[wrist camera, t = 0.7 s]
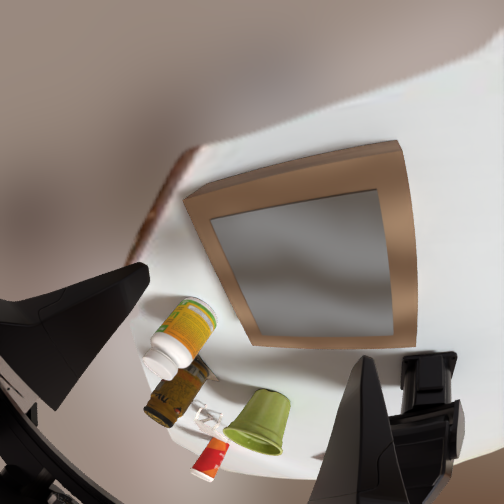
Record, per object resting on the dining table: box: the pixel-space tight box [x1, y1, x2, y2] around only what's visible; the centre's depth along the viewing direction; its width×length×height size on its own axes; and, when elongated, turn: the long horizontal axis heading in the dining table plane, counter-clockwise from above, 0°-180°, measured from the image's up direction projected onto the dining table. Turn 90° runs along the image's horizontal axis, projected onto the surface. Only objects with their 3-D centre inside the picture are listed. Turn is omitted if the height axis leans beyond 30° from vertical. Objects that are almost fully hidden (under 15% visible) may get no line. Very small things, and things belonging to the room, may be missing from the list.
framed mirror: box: [183, 140, 418, 349], centre depth 22 cm, size 16×16×4 cm
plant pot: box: [223, 389, 291, 456], centre depth 37 cm, size 9×9×9 cm
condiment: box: [144, 355, 219, 428], centre depth 40 cm, size 7×8×12 cm
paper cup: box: [190, 437, 229, 482], centre depth 65 cm, size 8×8×14 cm
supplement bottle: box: [143, 297, 218, 381], centre depth 31 cm, size 5×5×10 cm
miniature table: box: [193, 404, 232, 443], centre depth 54 cm, size 12×8×5 cm
